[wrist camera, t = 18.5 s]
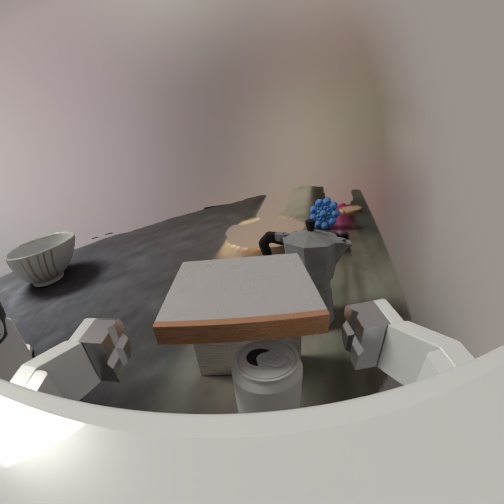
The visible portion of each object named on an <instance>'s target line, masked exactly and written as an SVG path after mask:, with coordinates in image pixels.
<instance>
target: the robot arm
mask: <svg viewBox="0 0 504 504" xmlns="http://www.w3.org/2000/svg"><path fill="white" fill-rule="evenodd" d="M344 316H345V318H346V320H347V321H346V322H345V323H344V324H343V326H342V340H343V344H344V347H345V349H346V350H347V351H349V352H351V353H350V360H351V362H352V364H353V366H354V368H355V370H359V369H364V368H370V367H375V366H377V367H378V368H379V369H381V370H382V371H383V372H385V373H386V374H388V375H389V376H391V377H392V378H394V379H395V380H397V381H398V382H400V383H401V384H402V385H404V386H401V387H398V388H394V389H391V390H387V391H383V392H379V393H376V394H372V395H368V396H363V397H359V398H354V399H350V400H345V401H340V402H335V403H329V404H324V405H318V406H311V407H304V408H297V409H289V410H280V411H270V412H257V413H240V414H178V413H160V412H148V411H138V410H129V409H121V408H114V407H107V406H101V405H95V404H90V403H85V402H80V401H79V400H80V399H81V398H83V397H84V396H85V395H86V394H87V393H88V392H89V391H90V390H92V389H93V388H94V387H95V386H96V385H97V384H98V383H100V382H101V381H113V382H120V380H121V378H122V375H123V373H124V371H125V369H124V367H123V365H125V364H126V363H127V362H129V359H130V357H131V346H130V342H129V339H128V338H127V337H126V336H125V335H124V334H123V332H124V330H125V328H124V325H123V323H122V321H121V320H119V319H101V318H98V319H97V318H86V319H84V321H83V322H82V323H81V325H80V326H79V327H78V328H77V330H76V331H75V332H74V334H73V335H72V336H71V338H70V339H69V340H68V341H64V342H62V343H61V344H59V345H57V346H55V347H53V348H51V349H50V350H48V351H46V352H44V353H42V354H41V355H39V356H37V357H35V358H33V357H32V348H31V346H30V345H29V344H25V343H24V341H23V339H22V337H21V336H20V334H19V332H18V330H17V329H16V327H15V325H14V323H13V322H12V320H11V319H10V318H8V317H6V314H5V311H4V309H3V305H2V303H1V301H0V504H504V345H503V346H500V347H499V348H497V349H495V350H493V351H491V352H489V353H486V354H485V355H482V356H480V357H478V358H476V359H474V358H473V357H472V355H471V354H470V353H469V352H468V351H467V349H466V348H464V346H463V345H462V344H461V343H460V342H459V341H457V340H455V339H452V338H450V337H447V336H444V335H442V334H440V333H437V332H435V331H432V330H430V329H427V328H424V327H422V326H420V325H417V324H415V323H412V322H410V321H404V320H403V319H402V318H401V317H400V316H399V314H398V313H397V312H396V311H395V310H394V309H393V307H392V306H391V305H390V304H389V303H388V301H387V300H386V299H378V300H373V301H369V302H363V303H357V304H350V305H346V307H345V310H344ZM100 380H101V381H100Z"/></svg>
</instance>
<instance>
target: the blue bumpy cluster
mask: <svg viewBox="0 0 504 504" xmlns="http://www.w3.org/2000/svg"><path fill="white" fill-rule="evenodd" d="M315 205H316V206H312V207H311V208H310V212H311V213H313V214H311V215H310V219H312V220H315V221H316V223H315V227H316V228H319V227H320V226H321V227H322V229H327V228H328V227H329V225H332V226H333V225H334V224H335V223H336V219H335V218H337V217H338V216H339V213H340V212H339V210H336V208H337V203H336V202H331V199H330V198H328V197H326V198H325V199H324V200H322V199H318V200H317V201H316V202H315Z"/></svg>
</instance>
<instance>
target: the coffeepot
mask: <svg viewBox="0 0 504 504" xmlns="http://www.w3.org/2000/svg"><path fill="white" fill-rule="evenodd" d="M305 222H306V227H307V230H302V231H295V232H292V233H286V232H266V234H265V235H264V236H263V237H262V238H261V239H260V241H259V246H260V249H261V251H262V254H263V256H267V255H272V252H271V249H270V247H269V243H276V244H280V245H284V248H285V254H292V253H298V255H299V257H300V259H301V261H302V262H303V264H304V266H305V268H306V270H307V272H308V273H309V275H310V277H311V279H312V281H313V283H314V285H315V287H316V288H317V290H318V292H319V294H320V296H321V298H322V300H323V302H324V304H325V306H326V308H327V310H328V311H329V313H330V320H329V326H330V325H331V323H332V322H333V321H334V320H335V318H334V309H333V299H332V291H331V287H330V280H331V279H332V278H333V275H334V270H335V266H336V264H337V262H338V261H339V259H340V258H341V256H342V255H343V253H344V252H345V251H346V250H347V248H348V247H350V246H352V243H351V242H350V241H349V240H347V239H344V238H340V237H337V236H336V235H335V234H334V233H329V232H324V231H319V230H314V228H315V223H316V221H315V220H312V219H309V220H306V221H305Z"/></svg>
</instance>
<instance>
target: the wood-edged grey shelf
mask: <svg viewBox="0 0 504 504" xmlns="http://www.w3.org/2000/svg"><path fill="white" fill-rule="evenodd" d="M329 320H330V313H329V311H328V310H327V308H326V306H325V304H324V302H323V300H322V298H321V296H320V294H319V292H318V290H317V288H316V287H315V285H314V283H313V281H312V279H311V277H310V275H309V273H308V272H307V270H306V268H305V266H304V264H303V262H302V261H301V259H300V257H299V255H298V253H292V254H280V255H267V256H255V257H242V258H230V259H217V260H204V261H191V262H183V263H182V265H181V267H180V269H179V271H178V273H177V275H176V278H175V280H174V282H173V284H172V286H171V288H170V290H169V292H168V294H167V296H166V298H165V301H164V303H163V305H162V307H161V309H160V311H159V314H158V316H157V318H156V320H155V322H154V325H153V330H154V334H155V337H156V340H157V343H158V344H193V345H194V349H195V353H196V357H197V361H198V365H199V368H200V372H201V376H205V375H232V365H233V363H234V358H235V355H236V353H237V352H238V350H239V349H240V348H241V347H242V346H244V345H245V344H247V343H250V342H252V341H258V340H269V339H278V340H282V341H285V342H287V343H289V344H291V345H292V346H293V347H294V348H295V349H296V350H297V352H298V354H299V358H301V336H306V335H314V334H321V333H328V331H329Z"/></svg>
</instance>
